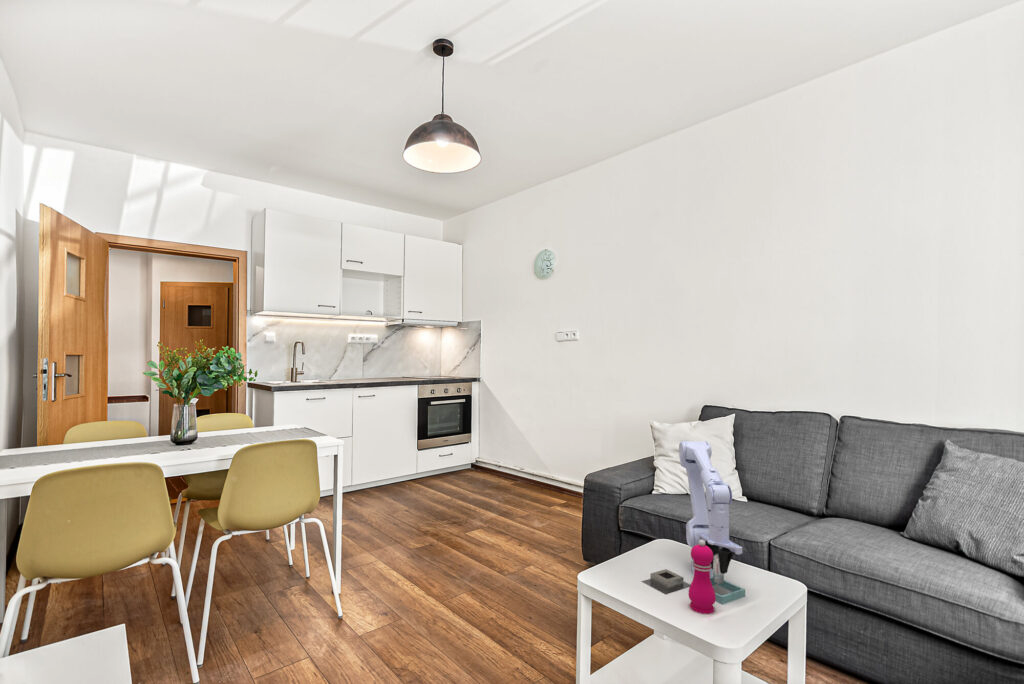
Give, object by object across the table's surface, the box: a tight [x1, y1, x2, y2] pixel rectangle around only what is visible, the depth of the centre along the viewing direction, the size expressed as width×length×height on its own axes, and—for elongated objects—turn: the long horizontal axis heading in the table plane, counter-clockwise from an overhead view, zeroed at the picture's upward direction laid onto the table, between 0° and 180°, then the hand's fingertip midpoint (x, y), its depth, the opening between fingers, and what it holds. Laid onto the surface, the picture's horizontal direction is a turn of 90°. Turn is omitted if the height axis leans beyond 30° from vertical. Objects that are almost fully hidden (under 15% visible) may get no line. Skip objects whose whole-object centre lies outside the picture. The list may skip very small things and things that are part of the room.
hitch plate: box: [640, 569, 691, 595], centre depth 156 cm, size 12×10×4 cm
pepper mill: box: [687, 540, 716, 615], centre depth 141 cm, size 7×7×20 cm
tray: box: [710, 577, 746, 605], centre depth 150 cm, size 10×10×3 cm
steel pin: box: [713, 552, 725, 584], centre depth 150 cm, size 3×3×8 cm
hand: (718, 570), depth 150 cm, fingers closed on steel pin, 3 cm apart
